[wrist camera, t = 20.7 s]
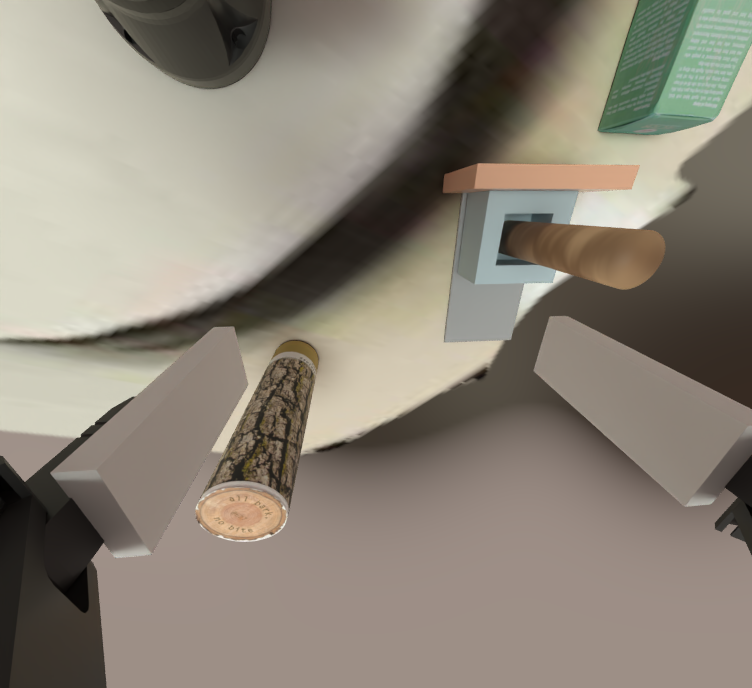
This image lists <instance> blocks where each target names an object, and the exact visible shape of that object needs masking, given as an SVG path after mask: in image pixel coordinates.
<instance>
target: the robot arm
mask: <svg viewBox="0 0 752 688" xmlns="http://www.w3.org/2000/svg"><path fill="white" fill-rule="evenodd" d="M95 1H96V3H97V4H98V6H99V7H100V9H101V10H102V12H103V13H104V14H105V16H106V17H107V19H108V20H109V22H110V23H111V24H112V25H113V27H114V28H115V29H116V31H117V32H118V33H119V34H120V35H121V36H122V38H123V39H124V40H125V41H126V42H127V43H128V44H129V45H130V46H131V47H132V48H133V49H134V50H135V51H136V52H137V53H139V54H140V55H141V56H142V57H143V58H145V59H146V60H147V61H148V62H150V63H151V64H153V65H154V66H155V67H157V68H158V69H159V70H161V71H162V72H164V73H165V74H167V75H168V76H170V77H172V78H174V79H176V80H177V81H180V82H182V83H184V84H187V85H190V86H194V87H199V88H220V87H225V86H228V85H230V84H233V83H235V82H236V81H238V80H240V79H241V78H242V77H244V76H245V75H246V74H247V73H248V72H249V71H250V70H251V69H252V68H253V66H254V65H255V64H256V62H257V60H258V59H259V57H260V55H261V53H262V51H263V48H264V46H265V43H266V39H267V36H268V31H269V26H270V18H271V0H95ZM534 372H535V373H536V374H537V375H539V376H540V377H541V378H542V379H543V380H544V381H545V382H546V383H547V384H549V385H550V386H551V387H552V388H553V389H554V390H555V391H556V392H558V393H559V394H560V395H561V396H562V397H563V398H564V399H565V400H566V401H568V402H569V403H570V404H571V405H572V406H573V407H574V408H575V409H576V410H578V411H579V412H580V413H581V414H582V415H583V416H584V417H585V418H587V419H588V420H589V421H590V422H591V423H592V424H593V425H595V427H597V428H598V429H599V430H600V431H601V432H602V433H603V434H604V435H605V436H607V437H608V438H609V439H610V440H611V441H612V442H613V443H615V445H617V446H618V447H619V448H620V449H621V450H622V451H623V452H624V453H625V454H627V455H628V456H629V457H630V458H631V459H632V460H633V461H634V462H636V463H637V464H638V465H639V466H640V467H641V468H642V469H643V470H644V471H646V472H647V473H648V474H649V475H650V476H651V477H652V478H653V479H654V480H656V481H657V482H658V483H659V484H660V485H661V486H662V487H663V488H665V489H666V490H667V491H668V492H669V493H670V494H671V495H672V496H673V497H675V498H676V499H677V500H678V501H679V502H680V503H681V504H682V505H683V506H696V505H707V504H712V503H713V501H714V500H715V499H716V498H717V497H718V496H719V494H720V493H721V492H722V491H723V490H724V488H726V489H728V490H729V491H730V492H732V493H733V494H734V495H736V496H737V497H738V498H737V499H736V500H735V501H734V502H733V504H731V506H730V507H729V508H728V509H727V510H726V511H725V512H724V513H723V514H722V516H721V517H720V518H719V519H718V520H717V521H716V522H715V529H716V530H719V531H721V532H722V531H723V530H724V528H725V527H726V526H727V525H728V524H733V525H738V526H737V527H736V529H735V530H734V531H733V532H732V533H731V534H730V535H731V536H733V537H735V538H738V539H740V540H742V541H745V542H746V544H747V546H748V548H749V550H750V553H751V555H752V409H749V408H747V407H746V406H744V405H742V404H740V403H738V402H736V401H734V400H732V399H729V398H728V397H726V396H724V395H722V394H720V393H718V392H716V391H714V390H712V389H710V388H708V387H706V386H704V385H702V384H700V383H698V382H696V381H694V380H692V379H690V378H688V377H686V376H684V375H682V374H680V373H678V372H676V371H674V370H672V369H670V368H669V367H667V366H665V365H662V364H660V363H658V362H657V361H655V360H653V359H651V358H649V357H647V356H645V355H643V354H641V353H639V352H637V351H635V350H633V349H631V348H629V347H627V346H625V345H623V344H621V343H619V342H617V341H615V340H613V339H611V338H609V337H607V336H605V335H603V334H601V333H599V332H597V331H595V330H593V329H591V328H589V327H588V326H586V325H584V324H582V323H580V322H578V321H576V320H574V319H572V318H570V317H568V316H552V317H551V316H550V318H549V321H548V324H547V328H546V331H545V334H544V338H543V341H542V345H541V348H540V351H539V354H538V358H537V361H536V364H535V368H534ZM247 386H248V381H247V377H246V373H245V369H244V365H243V361H242V357H241V353H240V349H239V345H238V341H237V337H236V333H235V329H234V327H214V328H212V329H211V330H210V331H209V332H208V333H207V334H206V335H205V336H203V337H202V338H201V339H200V340H199V341H198V342H197V343H196V344H194V345H193V346H192V347H191V348H190V349H189V350H188V351H187V352H185V353H184V354H183V355H182V356H181V357H180V358H179V359H178V360H176V361H175V362H174V363H173V364H172V365H171V366H170V367H169V368H167V369H166V370H165V371H164V372H163V373H162V374H161V375H160V376H158V377H157V378H156V379H155V380H154V381H153V382H152V383H151V384H149V385H148V386H147V387H146V388H145V389H144V390H143V391H142V392H140V393H139V394H138V395H137V396H136V397H131V398H129V399H128V400H126V401H124V402H122V403H121V404H119V405H117V406H115V407H113V408H112V409H110V410H109V411H108V412H107V413H106V414H105V415H103V416H102V417H101V418H100V419H99V420H97V421H96V422H95V425H92V426H90V427H89V428H88V429H87V430H86V431H85V432H83V433H82V434H81V437H80V438H76V439H75V440H74V441H73V442H72V443H70V444H69V445H68V446H67V447H66V448H65V449H63V450H62V451H61V452H60V453H59V454H57V455H56V456H55V457H54V458H53V459H52V460H50V461H49V462H48V463H47V464H46V465H44V466H43V467H42V468H41V469H40V470H39V471H37V472H36V473H35V474H34V475H33V476H32V477H30V478H29V479H28V480H27V481H26V482H24V481H23V480H22V479H21V477H20V476H19V475H18V474H17V473H16V471H15V470H14V469H13V468H12V467H11V466H10V464H9V463H8V462H7V461H6V460H5V458H4V457H3V456H0V688H106V676H105V663H104V652H103V640H102V628H101V616H100V604H99V592H98V580H97V570H96V568H95V566H94V564H93V563H92V561H91V559H92V558H93V557H94V555H95V554H96V552H97V551H98V550H99V548H100V547H101V545H102V544H103V543H104V544H105V545H106V546H107V548H108V549H109V550H110V552H111V553H112V554H113V556H114V557H115V558H120V557H131V556H143V555H152V553H153V552H154V550H155V548H156V546H157V544H158V543H159V541H160V539H161V537H162V536H163V534H164V532H165V530H166V529H167V527H168V525H169V523H170V522H171V520H172V518H173V516H174V515H175V513H176V511H177V509H178V508H179V506H180V504H181V502H182V501H183V499H184V497H185V495H186V493H187V492H188V490H189V488H190V486H191V485H192V483H193V481H194V479H195V478H196V476H197V474H198V472H199V471H200V469H201V467H202V465H203V463H204V462H205V460H206V458H207V457H208V455H209V453H210V451H211V450H212V448H213V446H214V444H215V442H216V441H217V439H218V437H219V435H220V434H221V432H222V430H223V428H224V427H225V425H226V423H227V421H228V420H229V418H230V416H231V414H232V413H233V411H234V409H235V407H236V406H237V404H238V402H239V400H240V399H241V397H242V395H243V393H244V391H245V390H246V388H247Z"/></svg>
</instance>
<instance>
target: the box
mask: <svg viewBox="0 0 752 688" xmlns="http://www.w3.org/2000/svg"><path fill="white" fill-rule="evenodd" d="M751 44H752V0H640V1H639V4H638V7H637V10H636V13H635V16H634V19H633V22H632V25H631V28H630V31H629V34H628V37H627V40H626V43H625V46H624V50H623V53H622V56H621V59H620V62H619V66H618V69H617V72H616V75H615V78H614V81H613V85H612V88H611V91H610V94H609V97H608V100H607V104H606V107H605V110H604V113H603V116H602V119H601V122H600V125H599V128H598V131H601V132H614V133H632V134H644V135H659V134H665V133H672V132H676V131H680V130H684V129H688V128H692V127H695V126H698V125H701V124H705V123H708V122H711V121H713V120H714V119H715V118H716V117H717V116H718V115H719V113H720V110H721V108H722V106H723V104H724V102H725V99H726V97H727V95H728V93H729V91H730V89H731V87H732V84H733V82H734V80H735V78H736V76H737V74H738V71H739V69H740V67H741V65H742V63H743V61H744V59H745V56H746V54H747V52H748V50H749V48H750V46H751Z"/></svg>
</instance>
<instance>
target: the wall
mask: <svg viewBox="0 0 752 688" xmlns="http://www.w3.org/2000/svg"><path fill="white" fill-rule="evenodd" d="M639 166H640V165H571V164H484V163H478V164H475V165H472V166H469V167H466V168H463V169H460V170H457V171H454V172H451V173H448V174H445V175H444V184H443V193H473V192H482V191H579V192H594V191H610V190H627V189H632V186H633V183H634V180H635V178H636V175H637V172H638V169H639Z"/></svg>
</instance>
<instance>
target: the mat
mask: <svg viewBox="0 0 752 688" xmlns="http://www.w3.org/2000/svg"><path fill="white" fill-rule="evenodd" d="M467 197H468V193H462V196H461V204H460V213H459V221H458V229H457V237H456V245H455V254H454V262H453V270H452V278H451V287H450V295H449V303H448V311H447V320H446V328H445V336H444V342H467V341H493V340H510V339H511V336H512V332H513V328H514V324H515V319H516V315H517V311H518V307H519V303H520V299H521V294H522V290H523V286H524V283H516V284H473V283H472V282H470V281H468V280H467V279H465V278H464V277H462V276H460V275H459V274H458V266H459V259H460V251H461V243H462V236H463V228H464V220H465V213H466V205H467Z"/></svg>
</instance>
